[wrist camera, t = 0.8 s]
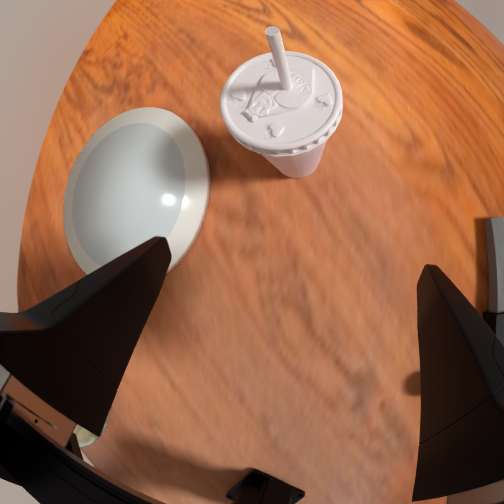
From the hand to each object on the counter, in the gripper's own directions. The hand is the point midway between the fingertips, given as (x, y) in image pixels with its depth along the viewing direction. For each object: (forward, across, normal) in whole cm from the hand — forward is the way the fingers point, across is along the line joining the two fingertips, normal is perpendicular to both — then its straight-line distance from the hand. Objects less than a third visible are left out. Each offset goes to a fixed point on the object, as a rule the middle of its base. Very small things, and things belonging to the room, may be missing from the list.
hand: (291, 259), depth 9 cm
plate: (+13, +18, +5) cm, 22 cm away
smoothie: (+15, +2, +2) cm, 15 cm away
